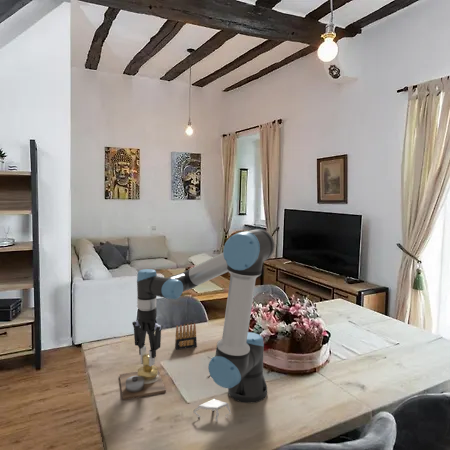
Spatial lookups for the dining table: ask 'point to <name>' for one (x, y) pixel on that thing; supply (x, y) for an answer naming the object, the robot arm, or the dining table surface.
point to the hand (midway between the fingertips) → (147, 363)
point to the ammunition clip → (185, 337)
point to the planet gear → (147, 369)
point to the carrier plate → (146, 389)
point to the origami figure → (213, 406)
